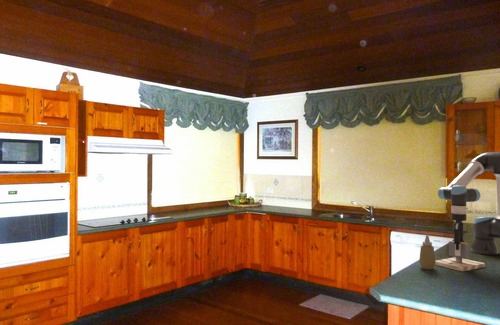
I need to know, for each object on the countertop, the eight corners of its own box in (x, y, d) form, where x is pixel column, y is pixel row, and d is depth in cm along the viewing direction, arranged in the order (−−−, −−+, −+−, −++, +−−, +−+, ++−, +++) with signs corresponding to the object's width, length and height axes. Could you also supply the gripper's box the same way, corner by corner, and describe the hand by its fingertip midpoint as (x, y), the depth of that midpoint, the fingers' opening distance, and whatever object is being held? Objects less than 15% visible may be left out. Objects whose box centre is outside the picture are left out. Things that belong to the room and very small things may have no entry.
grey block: (448, 255, 224) (448, 240, 224) (453, 254, 226) (453, 240, 226) (465, 259, 215) (465, 243, 215) (469, 258, 217) (469, 243, 217)
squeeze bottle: (426, 270, 210) (426, 237, 210) (415, 267, 217) (415, 234, 217) (438, 269, 212) (438, 236, 212) (428, 266, 219) (428, 233, 220)
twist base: (456, 260, 233) (456, 252, 233) (484, 266, 218) (484, 258, 218) (433, 264, 223) (433, 256, 223) (462, 271, 208) (462, 262, 208)
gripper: (463, 215, 211) (463, 258, 211) (469, 212, 226) (469, 252, 226) (448, 214, 216) (448, 256, 216) (454, 211, 231) (454, 250, 231)
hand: (458, 254), depth 221 cm, fingers closed on grey block, 5 cm apart
